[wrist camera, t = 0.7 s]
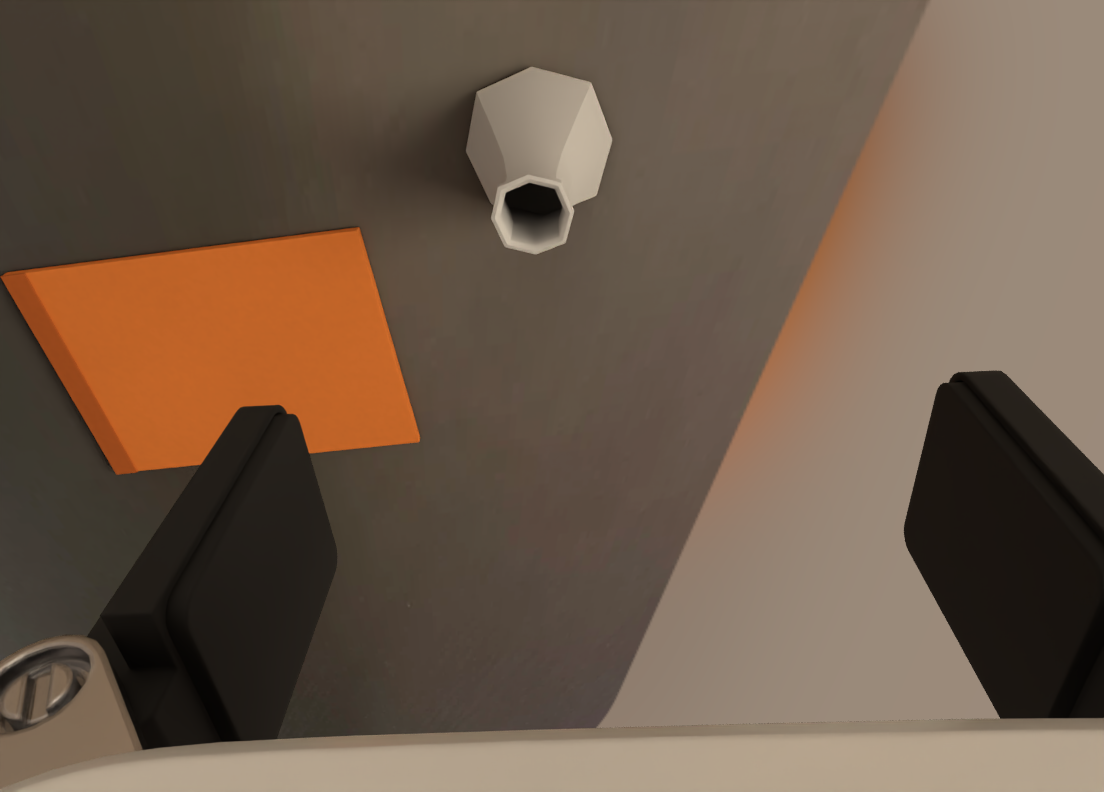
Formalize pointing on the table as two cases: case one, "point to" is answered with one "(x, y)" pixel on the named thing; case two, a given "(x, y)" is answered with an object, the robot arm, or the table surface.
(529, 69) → the flask
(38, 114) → the table surface
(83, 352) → the orange rectangular board
